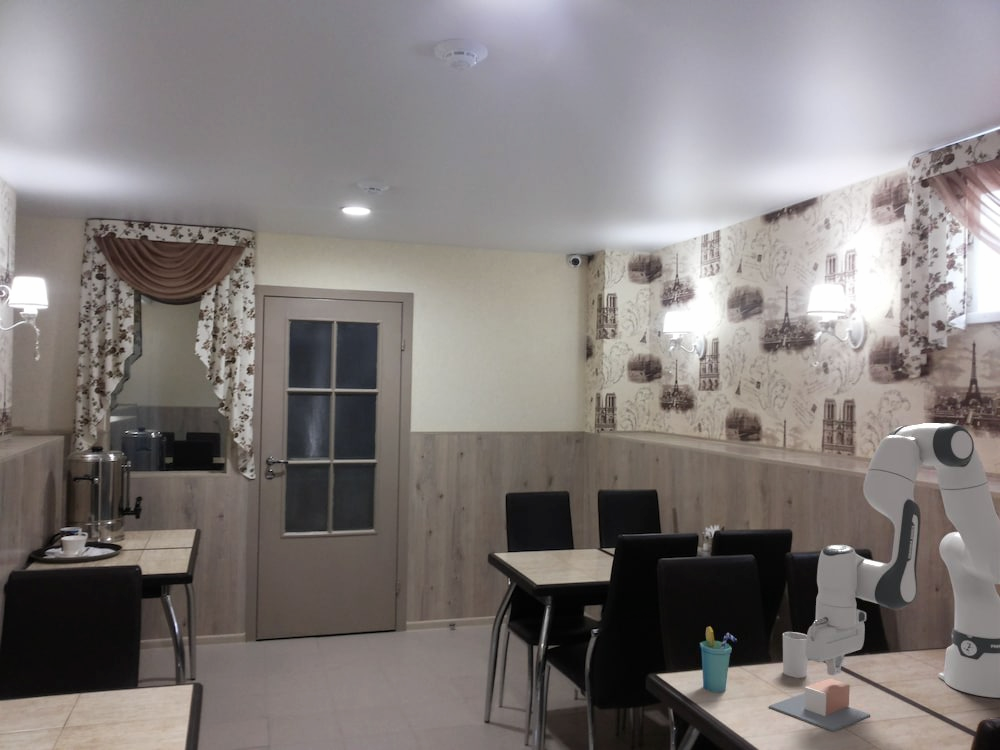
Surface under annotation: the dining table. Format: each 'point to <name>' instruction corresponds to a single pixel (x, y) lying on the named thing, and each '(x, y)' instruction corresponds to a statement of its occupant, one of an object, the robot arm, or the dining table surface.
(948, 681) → the robot arm
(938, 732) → the dining table surface
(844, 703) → the block
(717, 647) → the cup
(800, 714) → the mat
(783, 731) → the dining table surface
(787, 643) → the drinking glass
